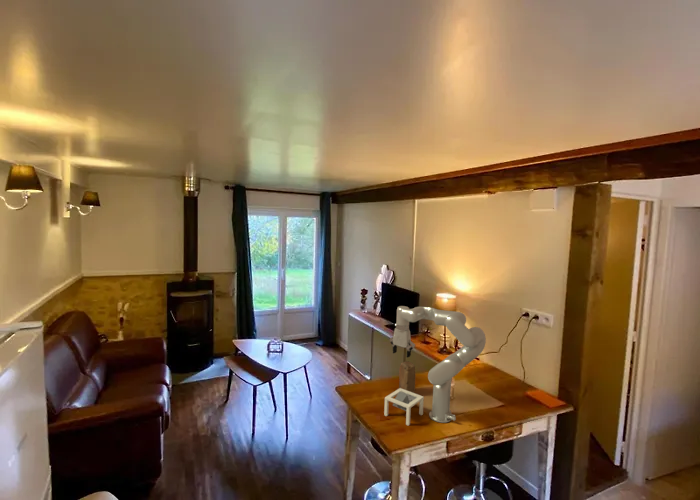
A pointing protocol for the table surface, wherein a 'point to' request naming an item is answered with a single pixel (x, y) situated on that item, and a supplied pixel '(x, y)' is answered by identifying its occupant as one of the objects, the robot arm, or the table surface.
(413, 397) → the trapdoor
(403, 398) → the stone
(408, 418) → the frame
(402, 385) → the block
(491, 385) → the table surface
